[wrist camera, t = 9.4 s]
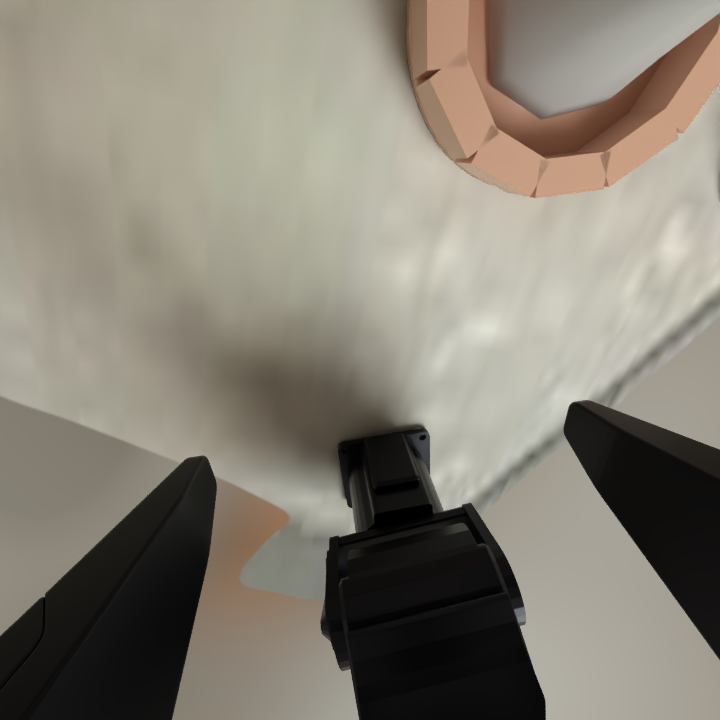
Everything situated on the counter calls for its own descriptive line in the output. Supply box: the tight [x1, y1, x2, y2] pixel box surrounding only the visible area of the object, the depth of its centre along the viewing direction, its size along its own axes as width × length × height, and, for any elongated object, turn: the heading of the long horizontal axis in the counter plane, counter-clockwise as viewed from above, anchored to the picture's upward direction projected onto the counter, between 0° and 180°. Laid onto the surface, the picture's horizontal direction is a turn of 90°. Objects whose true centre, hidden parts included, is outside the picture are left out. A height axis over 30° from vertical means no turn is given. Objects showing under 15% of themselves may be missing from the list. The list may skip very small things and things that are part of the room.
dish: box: [406, 0, 720, 198], centre depth 14 cm, size 13×13×3 cm
